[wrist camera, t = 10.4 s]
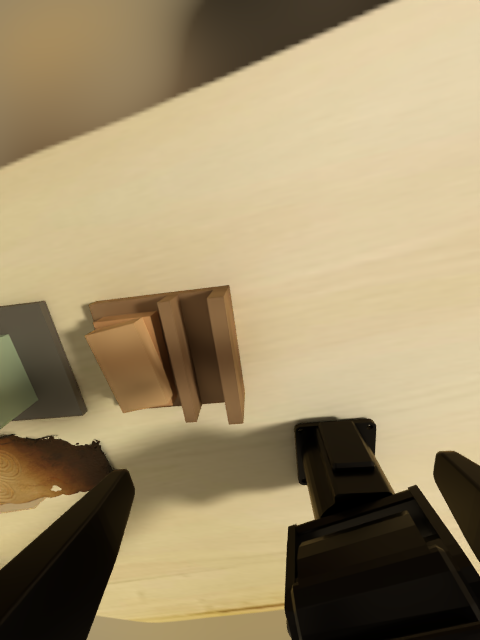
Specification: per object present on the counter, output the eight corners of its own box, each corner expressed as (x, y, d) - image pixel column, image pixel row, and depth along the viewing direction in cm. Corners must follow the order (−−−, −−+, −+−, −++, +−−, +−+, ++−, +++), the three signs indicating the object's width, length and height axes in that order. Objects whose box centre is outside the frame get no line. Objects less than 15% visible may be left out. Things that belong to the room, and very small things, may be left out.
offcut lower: (177, 395, 20) (172, 405, 19) (129, 399, 20) (121, 409, 19) (156, 310, 18) (150, 316, 16) (103, 316, 18) (92, 322, 17)
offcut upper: (173, 392, 18) (168, 403, 17) (131, 401, 19) (123, 413, 18) (142, 317, 17) (133, 323, 15) (96, 328, 17) (84, 335, 16)
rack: (244, 393, 21) (243, 423, 17) (129, 402, 22) (106, 432, 18) (229, 285, 18) (223, 296, 15) (96, 301, 19) (63, 315, 15)
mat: (87, 410, 22) (82, 415, 22) (4, 417, 23) (-2, 421, 22) (44, 300, 19) (38, 302, 18) (-50, 312, 20) (-59, 314, 19)
